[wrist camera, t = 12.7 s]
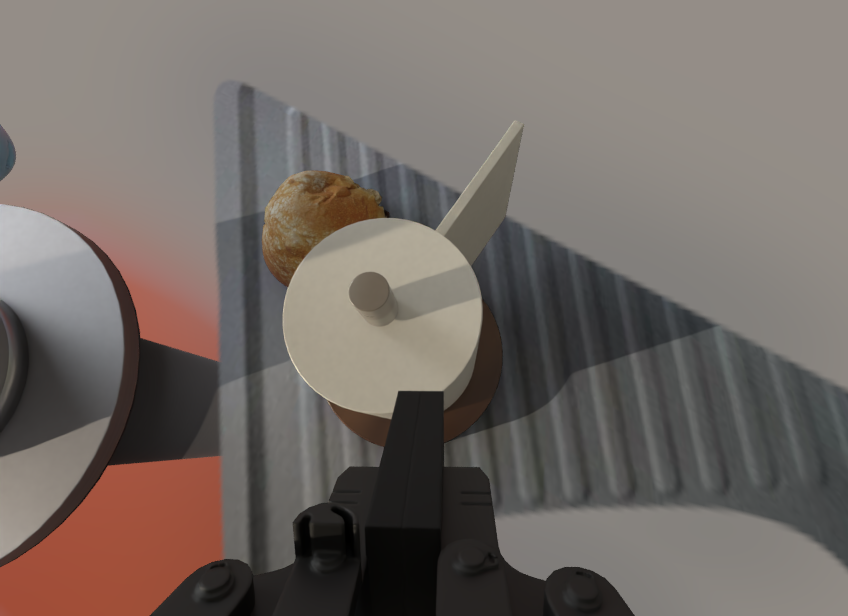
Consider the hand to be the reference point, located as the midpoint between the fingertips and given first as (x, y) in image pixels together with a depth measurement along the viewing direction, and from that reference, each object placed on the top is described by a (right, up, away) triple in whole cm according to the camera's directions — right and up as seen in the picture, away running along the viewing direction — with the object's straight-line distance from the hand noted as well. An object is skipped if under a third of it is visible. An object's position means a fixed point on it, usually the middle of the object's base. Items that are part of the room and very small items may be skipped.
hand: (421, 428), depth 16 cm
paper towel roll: (+2, +3, +20) cm, 20 cm away
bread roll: (-8, +10, +25) cm, 28 cm away
